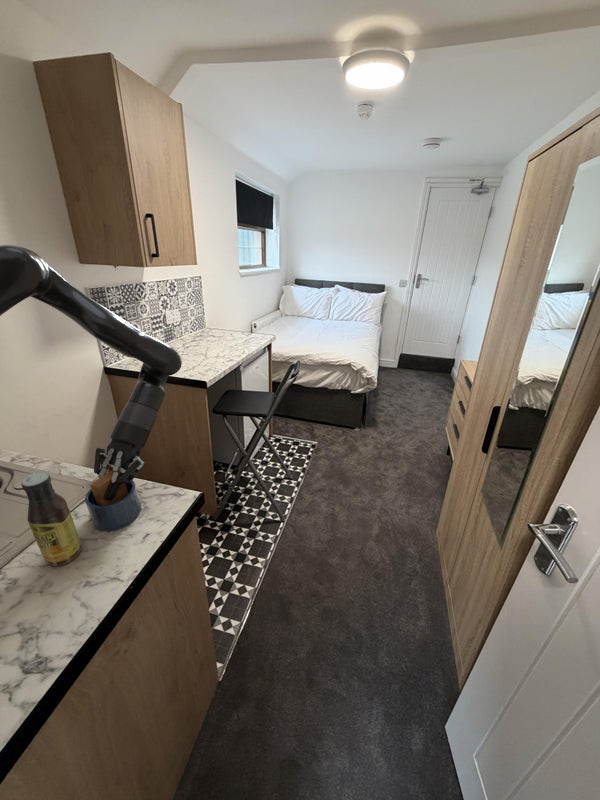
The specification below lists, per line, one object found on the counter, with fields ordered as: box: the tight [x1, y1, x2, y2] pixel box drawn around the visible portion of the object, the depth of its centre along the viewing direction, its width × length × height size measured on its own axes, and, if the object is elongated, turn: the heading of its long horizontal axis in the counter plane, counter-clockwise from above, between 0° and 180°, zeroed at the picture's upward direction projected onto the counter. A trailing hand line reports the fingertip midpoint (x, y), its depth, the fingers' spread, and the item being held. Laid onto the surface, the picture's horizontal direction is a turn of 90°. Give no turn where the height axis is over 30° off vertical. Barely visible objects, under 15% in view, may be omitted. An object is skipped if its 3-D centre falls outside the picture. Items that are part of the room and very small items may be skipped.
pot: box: [84, 479, 142, 532], centre depth 75 cm, size 10×10×7 cm
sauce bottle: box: [20, 471, 82, 567], centre depth 62 cm, size 7×6×20 cm
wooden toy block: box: [89, 469, 128, 506], centre depth 73 cm, size 2×6×8 cm, turn 158°
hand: (102, 497), depth 71 cm, fingers closed on wooden toy block, 2 cm apart
